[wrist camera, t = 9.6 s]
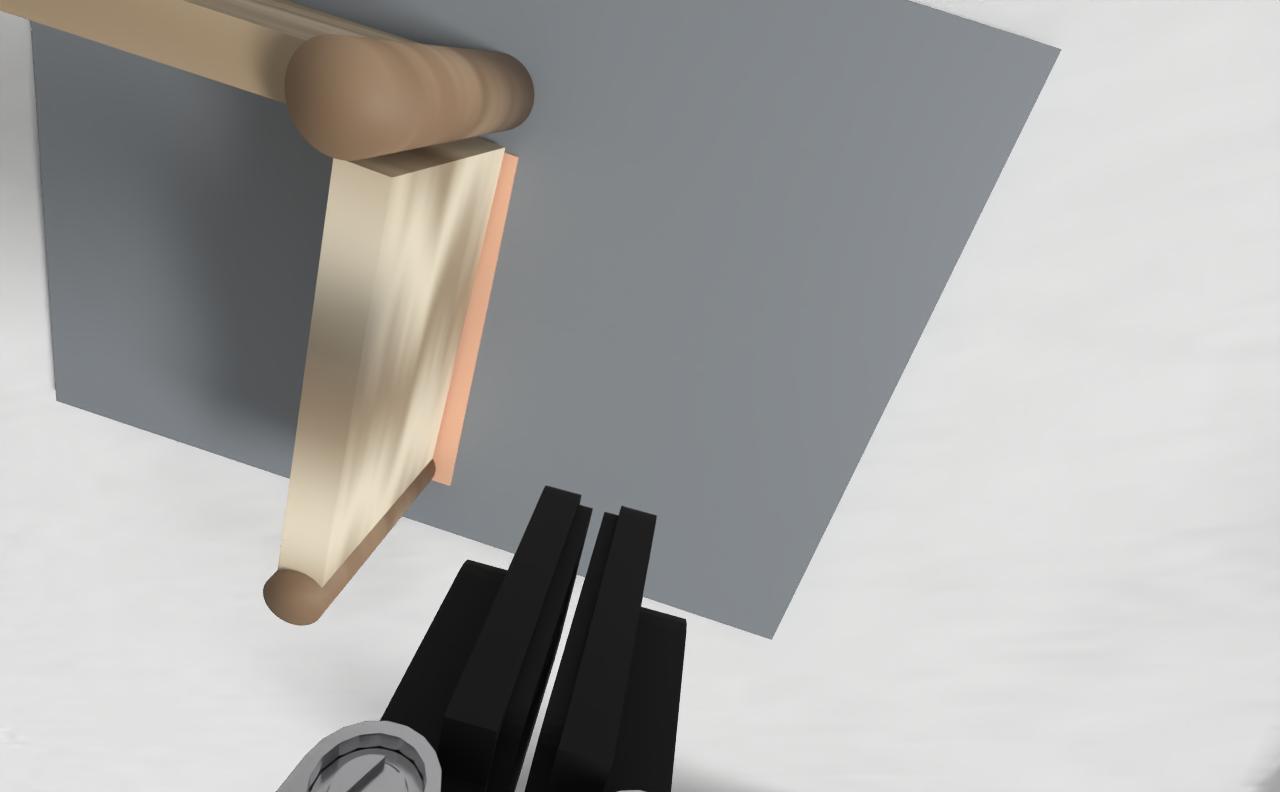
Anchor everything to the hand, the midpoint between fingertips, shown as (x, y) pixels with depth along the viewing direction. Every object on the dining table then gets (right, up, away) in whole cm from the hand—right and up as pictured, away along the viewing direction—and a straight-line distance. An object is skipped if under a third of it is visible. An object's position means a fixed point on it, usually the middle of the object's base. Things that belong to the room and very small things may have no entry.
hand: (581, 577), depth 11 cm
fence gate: (-5, +5, +12) cm, 14 cm away
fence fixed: (-9, +13, +9) cm, 19 cm away
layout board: (-5, +7, +12) cm, 15 cm away
